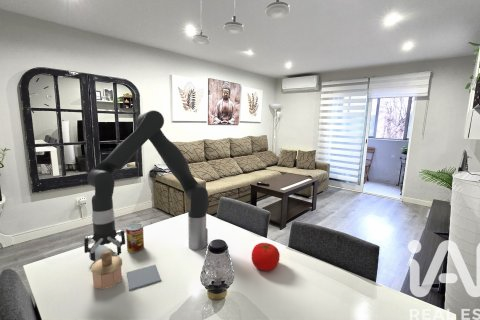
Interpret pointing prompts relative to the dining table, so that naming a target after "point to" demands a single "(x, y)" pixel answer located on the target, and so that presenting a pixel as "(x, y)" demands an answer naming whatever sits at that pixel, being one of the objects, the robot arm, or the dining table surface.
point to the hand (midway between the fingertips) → (106, 257)
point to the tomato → (265, 256)
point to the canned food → (135, 237)
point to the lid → (106, 264)
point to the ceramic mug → (100, 250)
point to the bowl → (107, 279)
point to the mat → (143, 277)
